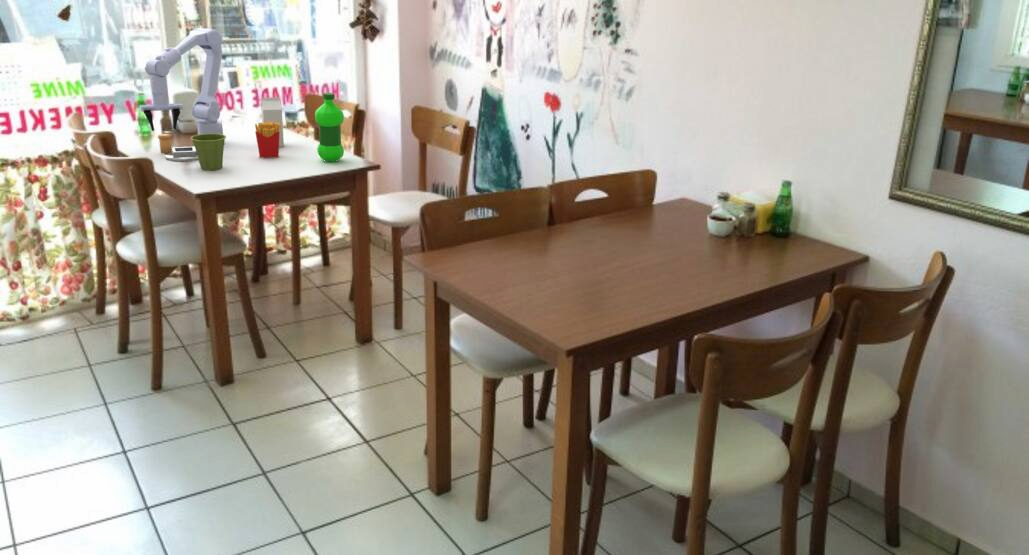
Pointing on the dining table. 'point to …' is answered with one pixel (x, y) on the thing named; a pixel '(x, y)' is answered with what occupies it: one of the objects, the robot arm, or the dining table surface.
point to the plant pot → (209, 150)
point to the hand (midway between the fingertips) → (163, 129)
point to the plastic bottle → (329, 129)
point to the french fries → (268, 139)
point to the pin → (165, 143)
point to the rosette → (182, 154)
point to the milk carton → (273, 114)
